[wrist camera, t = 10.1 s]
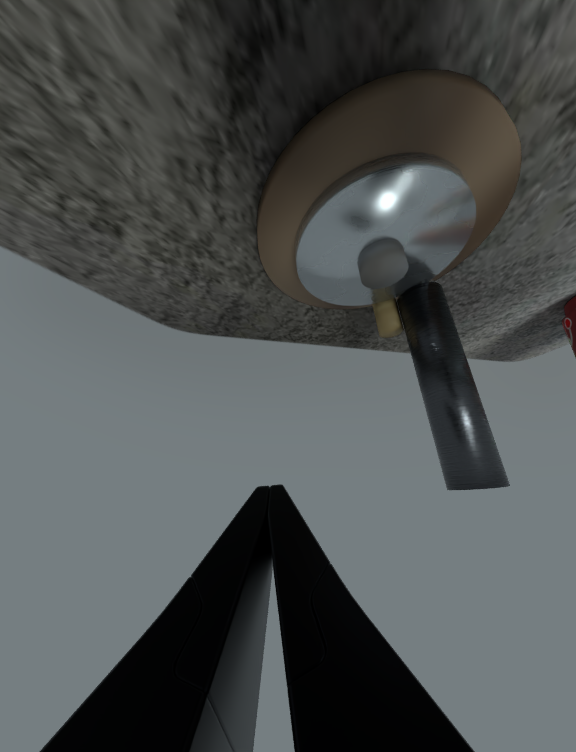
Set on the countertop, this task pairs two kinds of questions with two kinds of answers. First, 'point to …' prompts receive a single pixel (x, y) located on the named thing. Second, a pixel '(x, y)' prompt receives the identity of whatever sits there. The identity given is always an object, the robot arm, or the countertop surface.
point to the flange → (409, 288)
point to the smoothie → (570, 323)
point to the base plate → (379, 139)
